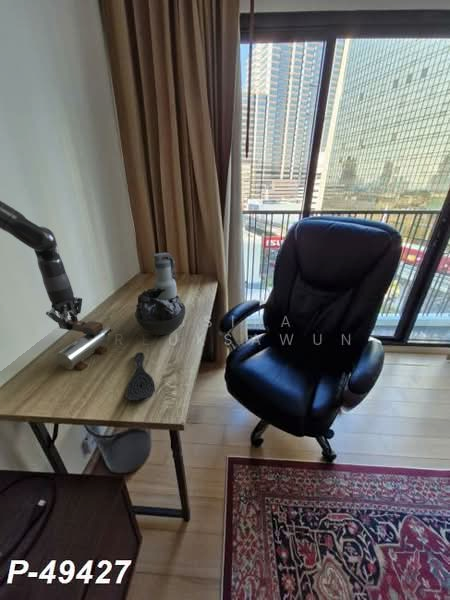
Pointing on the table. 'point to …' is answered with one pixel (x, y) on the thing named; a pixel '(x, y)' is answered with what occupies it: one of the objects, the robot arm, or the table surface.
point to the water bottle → (165, 275)
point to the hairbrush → (140, 382)
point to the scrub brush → (85, 327)
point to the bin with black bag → (159, 312)
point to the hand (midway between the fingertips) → (72, 327)
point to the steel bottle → (83, 350)
